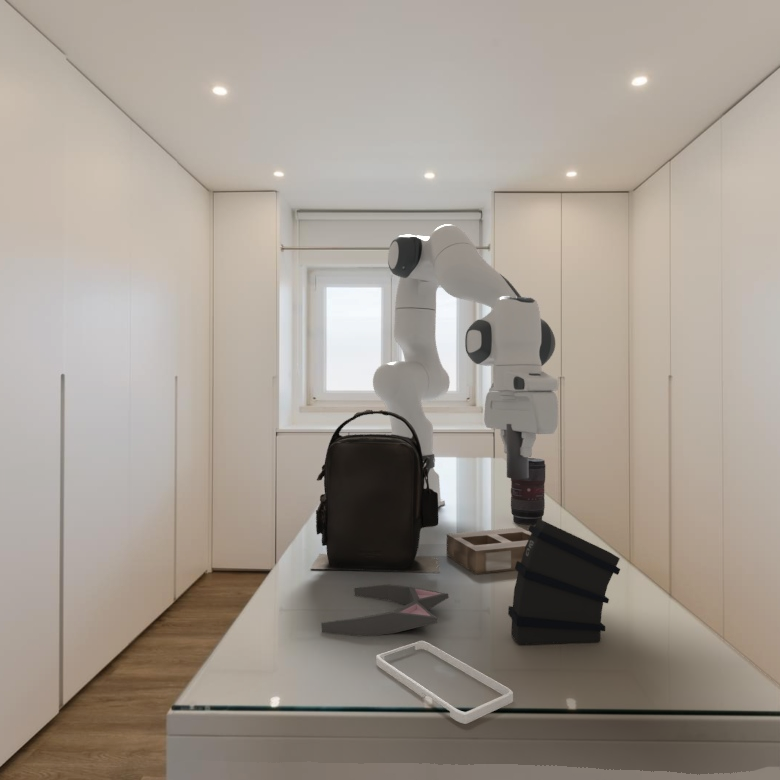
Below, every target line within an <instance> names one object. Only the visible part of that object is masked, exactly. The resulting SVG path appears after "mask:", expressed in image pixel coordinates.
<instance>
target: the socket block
mask: <svg viewBox="0 0 780 780" xmlns="http://www.w3.org/2000/svg"><path fill="white" fill-rule="evenodd" d="M530 536H531V532H530V531H529V530H526V529H524V528H522V527H510V528H501V529H500V528H499V529H490V530H489V529H488V530H478V531H477V530H476V531H466V532H465V531H464V532H454V533H446V556H447V557H449V558H450V559H452V560H453V559H454V561H455V562H456V561H457V563H458V564H459V563H460V565H461V564H462V565H463V566H462V565H461V566H462V567H464V568H465V567H466V569H467V568H468V569H467V570H469V571H470V572H471V573H473V574H474V575H483V574H482V573H484V574H491V572H492V573H499V572H507V571H515V570H516V569H515V566H516V562H517V561H519V562H521V561H522V557H523V553H524V550H525V546H526V544H527V542H528V540H529V538H530ZM516 571H517V570H516Z"/></svg>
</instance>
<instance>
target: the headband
mask: <svg viewBox="0 0 780 780" xmlns="http://www.w3.org/2000/svg"><path fill="white" fill-rule="evenodd" d="M353 592H354V597H360V598H369V599H373V600H374V599H375V600H383V601H389V602H392V603H395V604H400V605H403V606H401V607H399V608H397V609H395V610H393V611H389V612H383V613H377V614H371V615H366V616H360V617H353V618H346V619H338V620H331V621H324V622H321V623H320V625H321V633H327V634H335V635H337V634H338V635H345V636H356V637H375V636H381V635H382V636H383V635H389V634H395V633H400V632H403V631H408V630H409V631H410V630H412V629H416V628H420V627H424V626H429V625H432V624H436V623H438V619H437V618H438V617H437V616H435V615H434V614H433V613H432V612H431V611H430V609H433V608H434V607H435V606H437V605H439V604H440V603H442V602H443V601H446V600H447V599H448V598H449V593H448V592H442V591H437V590H431V589H425V588H420V587H415V586H414V587H413V586H410V585H409V586H407V585H400V584H399V585H398V584H380V585H379V584H378V585H369V586H368V585H367V586H360V587H354V588H353Z"/></svg>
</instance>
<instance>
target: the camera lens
mask: <svg viewBox="0 0 780 780" xmlns="http://www.w3.org/2000/svg"><path fill="white" fill-rule="evenodd" d="M528 471H529V478H526V479H513V478H510V482H511V484H510V486H511V488H510V496H511V497H510V510H511V515H512V519H513V522H514V523H517V524H520V525H521V524H522V525H536V523H537V520H538V519H541V520H543V517H544V515H545V508H546V507H545V505H546V503H545V483H546V464H545V459H541V458H533V457H528Z"/></svg>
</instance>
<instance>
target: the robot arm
mask: <svg viewBox="0 0 780 780" xmlns="http://www.w3.org/2000/svg"><path fill="white" fill-rule="evenodd" d="M387 264H388V268H389V270H390V272H391V273H392V274H393V275H395V276H397V277H398V278H399V280H398V283H397V284H398V285H397V289H396V296H395V301H394V302H395V303H394V305H395V306H394V309H395V310H394V324H393V325H394V327H393V328H394V330H393V338H394V340H395V342H396V343H397V345H398V346H399V347H400V348H401V350H402V354H403V357H404V358H403V359H404V361H400V360H396V361H391V362H387V363H384V364H381V365H380V366H378V367H377V368H376V370H375V372H374V374H373V378H372V387H373V390H374V391H373V392H374V393H375V394H376V396H377V398H379V399H380V400H381V401H382V402H383V404H384V406H385V407H386V408H385V409H386V411H389V412H393V413H396V414H398V415H400V416H402V417H403V418H405V419H406V420H407V421H408V422H409V423H410V424H411V425H412V427H413V428H414V430H415V432H416V434H417V436H418V439H419V442H420V446H421V452H422V456H423V462H424V461H425V459H426V458H427V457H430V462H429V465H428V467H427V471H428V481H429V482H428V483H429V489H432V490H433V491H434V492H437V493H438V508H439V507H440V506H444V505H446V502H445V501H446V500H445V499H442V498H441V486H440V476H439V473H438V472H436V471H435V469H434V468H435V466H436V465H435V463H436V458H435V454H434V427H433V423H432V422H431V421H430V420H429V418H427V417H426V415H425V411H424V409H423V404H422V403H430V402H434V401H436V400H439V399H441V398H443V397H444V396H445V395H446V394H447V392H448V391H449V388H450V383H451V382H450V376H449V373H448V372H447V370H446V369H445V368H444V367H443V365H442V362H441V359H440V356H439V351H438V346H437V341H436V323H437V322H436V318H437V290H438V288H439V287H441V288H442V289H443V291H444V292H446V293H447V294H448V295H450V296H451V297H454V298H455V299H459V300H465V301H470V302H472V303H473V302H474V303H477V304H481V305H485V306H486V307H487V306H488V307H489V308H492V310H491V311H489V312H488V313H487V315H485V316H484V317H482V318H480V319H477V320H475V321H474V322H473V323H471V325H469V327H468V329H467V330H466V332H465V338H464V342H465V343H464V344H465V346H464V347H465V352H466V354H467V356H468V357H469V358H470V360H471V361H472V362H473V363H474V364H475V365H479V366H487V367H489V366H491V367H493V383H492V384H491V385H490V387H489V389H488V392H487V393H486V396H485V403H484V415H483V422H484V425H485V427H486V428H487V429H494V430H500V432H499V433H500V434H499V435H500V438H501V441H502V444H503V453H505V454H506V455H507V439H506V424H511V427H512V430H513V431H518V432H522V438H523V443H522V447H519V455H520V456H521V457H528V458H532V455H533V452H532V451H533V446H534V444H535V441H536V438H537V437H536V436H537V435H551V434H555V432H556V430H557V428H558V422H559V407H558V406H559V405H558V402H559V401H558V396H557V394H556V393H555V392H556V391H558V390H559V381H558V379H557V378H556V377H553V376H551V375H549V374H547V372H544V371H542V368H543V366H544V365H545V364H546V363H547V362H548V361H549V360H550V359H551V357H552V356H553V355H554V352H555V349H556V338H555V334H554V332H553V330H552V328H551V326H550V325H549V324H548V322H546V321H545V320H544V319H542V318H541V313H540V312H541V311H540V307H539V304H538V302H537V300H536V299H534V298H532V297H529V296H528V297H527V296H521V294H520V292H518V291H517V289H516V288H515V287H514V285H513V284H512V283H511V282H510V281H509V280H508V279H507V278H506V277H505V276H503V275H502V274H501V273H500V272H498V271H497V270H496V269H494V268H493V267H492V266H491V265H490V263H488V262H487V261H486V260H485V259H484V257H483V256H482V255H481V254H480V252H479V251H478V249H477V247H476V245H475V244H474V242H473V240H472V239H471V238H470V237H469V235H468V234H467V233H466V232H465V231H464V230H463V229H462V228H461V227H459V226H457V225H454V224H443V225H440V226H438V227H437V228H435V229H433V231H432V232H431V234H430V236H426V235H424V236H423V235H413V234H403V235H398V236H396V237H395V238H394V239H393V240H392V241H391V243H390V245H389V249H388V253H387ZM388 417H389V420H390V426H391V434H393V435H399V436H403V437H409V438H412V436H413V434H412V432H411V431H410V429H409V428H408V427H407V425H406V424H405V423H404V422H403V421H401V420H399V419H397V418H395V417H393V416H390V415H388ZM427 461H428V459H427ZM427 461H426V463H425V464H424V467H425V466H426V464H427ZM425 476H426V475H425ZM426 479H427V477H426ZM426 488H427V484H426V481H425V478H424V489H426Z"/></svg>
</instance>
